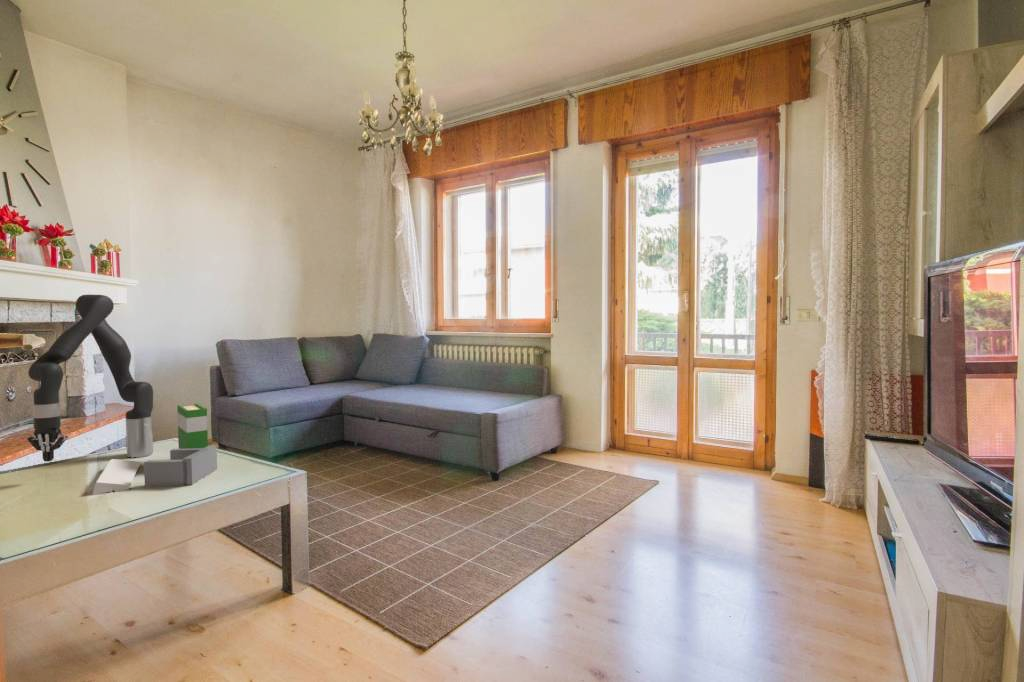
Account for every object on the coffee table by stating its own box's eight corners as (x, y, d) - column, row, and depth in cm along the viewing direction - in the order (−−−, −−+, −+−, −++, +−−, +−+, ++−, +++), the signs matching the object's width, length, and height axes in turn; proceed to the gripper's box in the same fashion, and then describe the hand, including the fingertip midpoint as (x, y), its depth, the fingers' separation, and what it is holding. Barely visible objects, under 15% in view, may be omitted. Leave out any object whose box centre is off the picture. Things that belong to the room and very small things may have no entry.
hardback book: (179, 459, 219) (177, 405, 218) (198, 456, 224) (197, 403, 223) (187, 468, 206) (186, 411, 205) (208, 465, 212) (206, 408, 210)
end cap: (174, 470, 204) (173, 446, 203) (217, 469, 205) (216, 445, 205) (144, 486, 185) (143, 459, 184) (192, 485, 186) (191, 458, 186)
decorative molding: (137, 473, 210) (107, 470, 205) (140, 461, 211) (111, 458, 206) (126, 498, 181) (91, 495, 176) (130, 485, 182) (95, 482, 177)
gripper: (73, 413, 194) (74, 458, 194) (36, 413, 192) (37, 458, 193) (58, 417, 186) (59, 463, 187) (19, 417, 185) (20, 464, 185)
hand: (48, 460), depth 190 cm, fingers closed
